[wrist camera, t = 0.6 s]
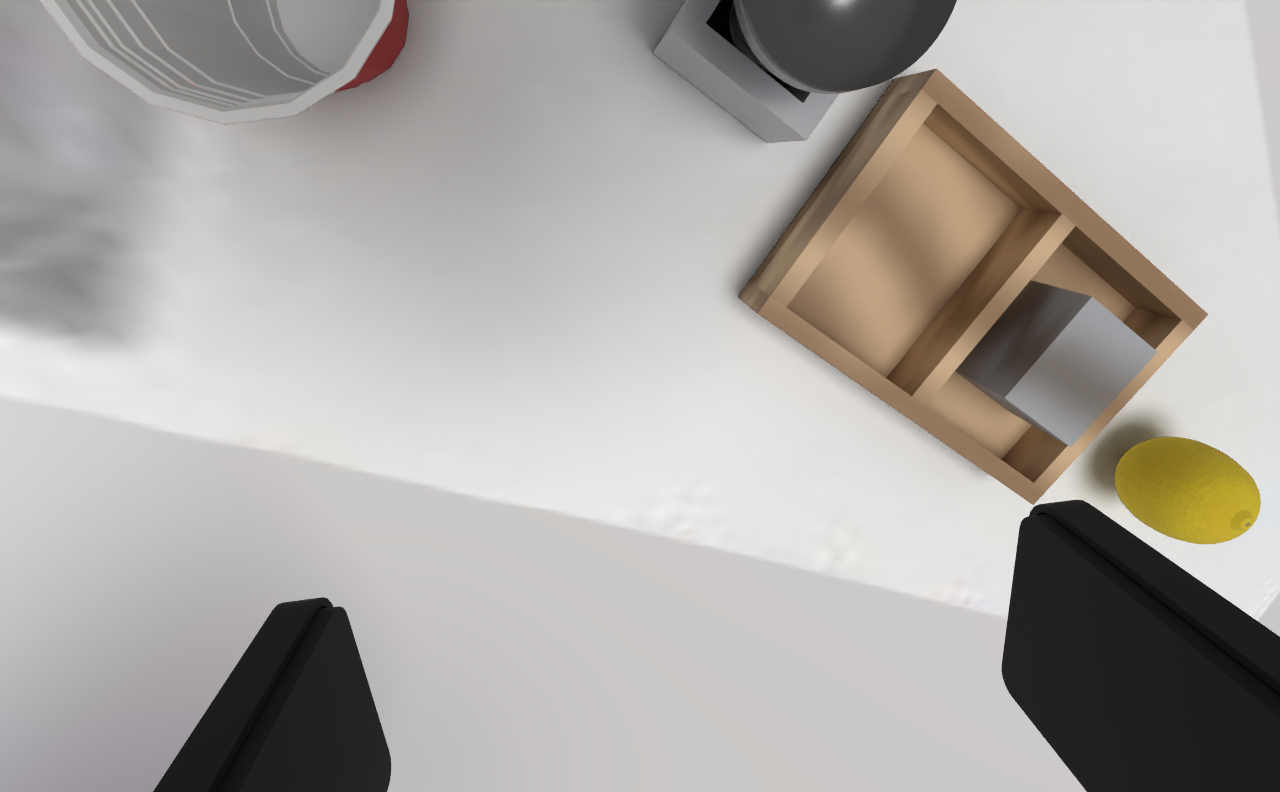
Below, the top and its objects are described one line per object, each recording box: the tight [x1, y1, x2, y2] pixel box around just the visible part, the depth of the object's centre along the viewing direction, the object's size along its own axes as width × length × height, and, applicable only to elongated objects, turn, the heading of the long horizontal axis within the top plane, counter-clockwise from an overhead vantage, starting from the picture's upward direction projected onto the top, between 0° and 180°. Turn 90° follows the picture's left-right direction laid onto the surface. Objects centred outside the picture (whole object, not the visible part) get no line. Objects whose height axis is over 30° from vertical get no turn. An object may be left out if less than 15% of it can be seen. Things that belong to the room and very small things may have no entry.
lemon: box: [1115, 437, 1261, 544], centre depth 38 cm, size 6×6×8 cm
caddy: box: [738, 69, 1208, 505], centre depth 34 cm, size 13×20×6 cm, turn 56°
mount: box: [653, 0, 839, 143], centre depth 29 cm, size 7×7×6 cm
